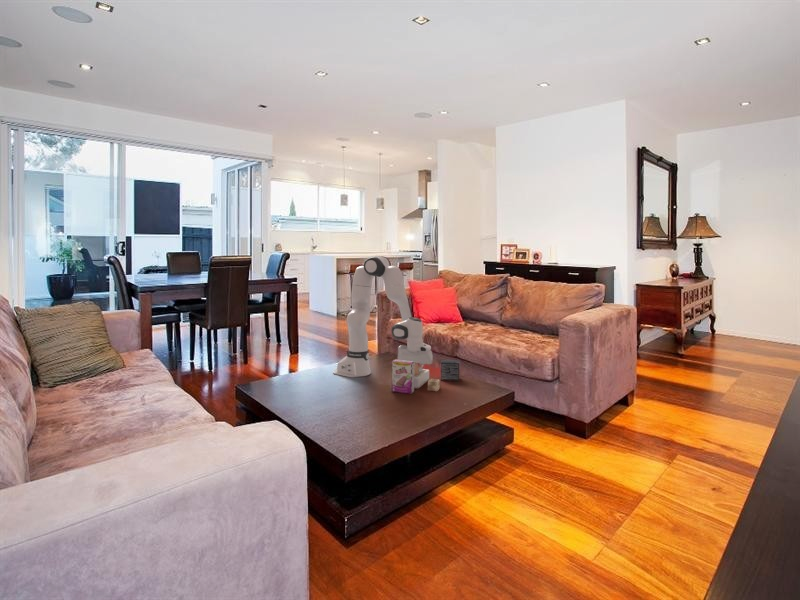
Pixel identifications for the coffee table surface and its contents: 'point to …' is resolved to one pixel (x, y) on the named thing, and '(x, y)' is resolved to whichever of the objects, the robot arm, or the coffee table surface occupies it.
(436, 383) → the maple cube
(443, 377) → the small box
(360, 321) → the robot arm
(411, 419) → the coffee table surface
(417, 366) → the peach capsule
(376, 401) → the coffee table surface
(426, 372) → the white tote
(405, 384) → the candy bar box
